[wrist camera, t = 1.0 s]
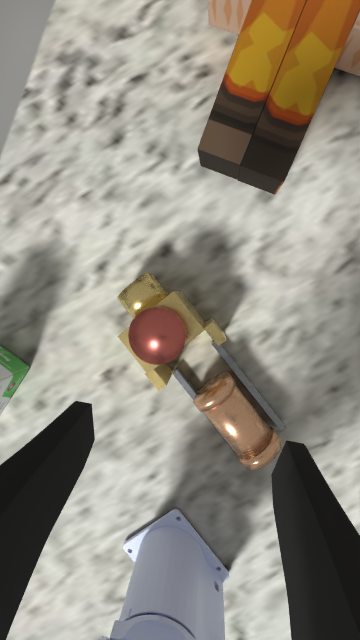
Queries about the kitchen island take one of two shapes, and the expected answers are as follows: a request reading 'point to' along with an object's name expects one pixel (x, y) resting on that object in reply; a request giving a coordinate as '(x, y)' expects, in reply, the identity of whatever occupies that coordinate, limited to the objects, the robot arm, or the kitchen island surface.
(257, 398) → the rails
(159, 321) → the valve
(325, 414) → the kitchen island surface
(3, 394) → the ink box
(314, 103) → the toy
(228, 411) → the coupling
